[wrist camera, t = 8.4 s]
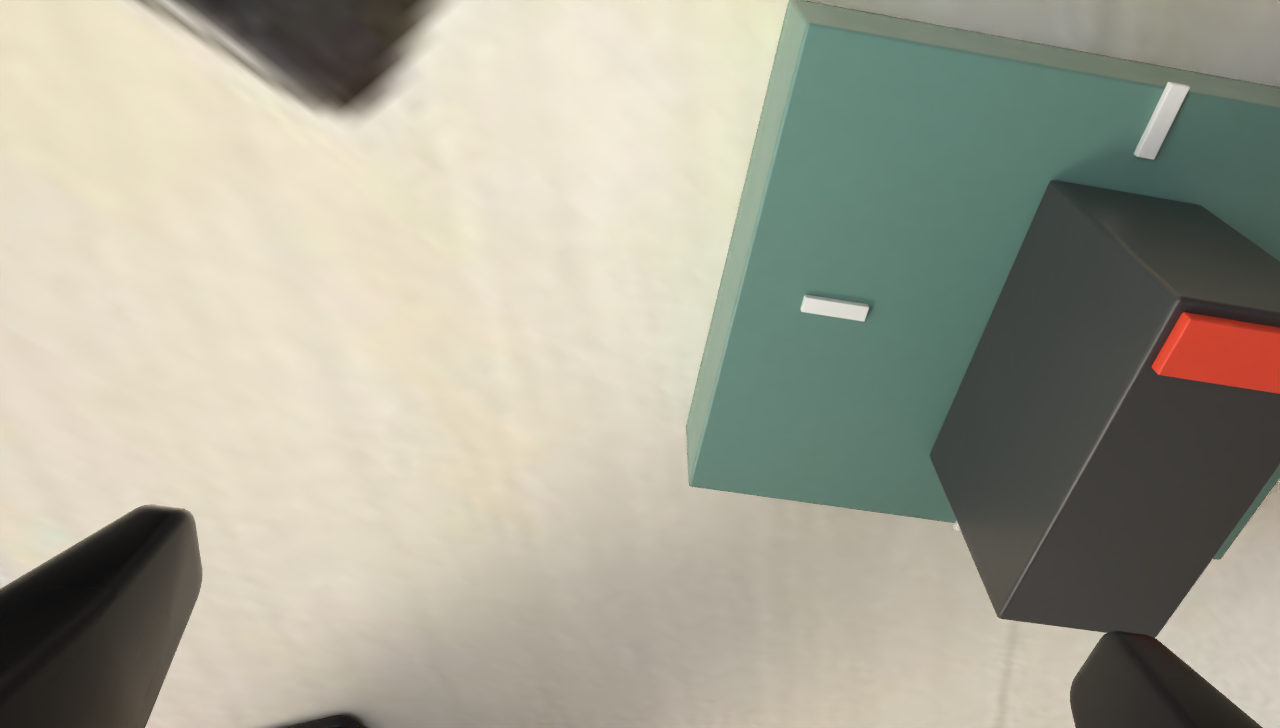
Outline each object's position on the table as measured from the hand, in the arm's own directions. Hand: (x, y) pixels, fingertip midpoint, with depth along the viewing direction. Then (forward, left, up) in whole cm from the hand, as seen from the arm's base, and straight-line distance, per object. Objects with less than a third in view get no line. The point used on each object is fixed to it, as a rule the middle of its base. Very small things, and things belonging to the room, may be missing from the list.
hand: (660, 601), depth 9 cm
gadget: (+7, -6, -10) cm, 14 cm away
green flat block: (+7, -6, -13) cm, 16 cm away
